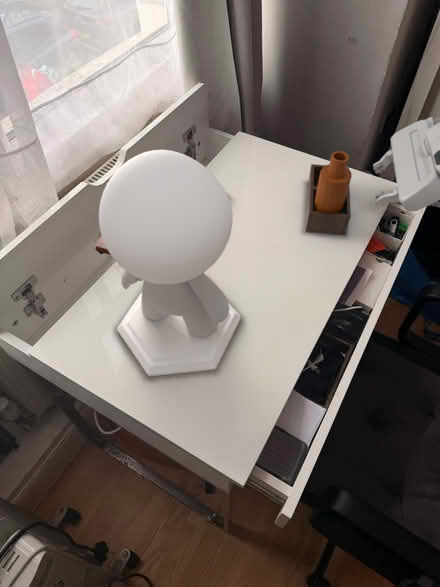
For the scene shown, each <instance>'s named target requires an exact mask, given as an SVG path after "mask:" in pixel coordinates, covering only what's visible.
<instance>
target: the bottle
mask: <svg viewBox="0 0 440 587" xmlns="http://www.w3.org/2000/svg"><path fill="white" fill-rule="evenodd" d="M349 159H350V156H349V154H348V153H347V152H345V151H341V150H338V151H334V152H333V153H331V156H330V161H329V164H325V165H326V166H324V167H323V168H322V169H321V172H320V177H319V182H318V186H317V191H316V196H315V201H314V206H313V211H316V212H327V213H338V214H341V213H342V209H343V205H344V202H345V198H346V195H347V191H348V188H349V186H350V185H351V184H350V183H351V180H352V178H353V177H352V172H351V170H350V168H349V169H348V168H347V167H348V163H349Z"/></svg>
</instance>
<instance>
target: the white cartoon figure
mask: <svg viewBox="0 0 440 587" xmlns="http://www.w3.org/2000/svg"><path fill="white" fill-rule="evenodd" d="M233 216H234V215H233V208H232V204H231V200H230V198H229V194H228V193H227V192H226V188H225V187H224V186H223V185H222V183H221V182H220V180H218V178H217V177H216V176H215V175H214V173H213V172H211V171H210V170H209V169H208V168H207V167H206V166H204V165H203V164H201V163H200V162H199V161H197V160H195V159H194V158H192V157H190V156H188V155H186V154H184V153H181V152H178V151H175V150H168V149H154V150H148V151H144V152H141V153H139V154H136V155H135V156H133V157H132V158H130V159H128V160H127V161H126V162H124V163H123V164H122V165H120V166H119V167H118V168H117V170H115V172H114V173H113V174H112V176H111V177H110V178H109V180H108V181H107V183H106V185H105V188H103V192H102V195H101V198H100V201H99V209H98V224H99V230H100V234H101V235H102V238H103V241H104V243H105V245H106V247H107V249H108V251H109V253H110V254H111V255H110V256H111V257H112V258H113V259H114V261H115V262H116V263H117V264H118V266H120V267H121V268H122V269H123V270H122V273H121V275H120V276H121V278H120V280H121V281H120V282H121V286H122V288H123V289H125V290H128V288H129V287H130V286H131V285H134V284H136V283H138V282H142V281H143V283H142V290H141V292H140V293H139V296H138V297H137V298H136V300H135V301H134V303H133V304H132V305H131V307H130V308H129V310H128V312H127V313H126V314H125V316H124V317H123V319H122V320H121V322H120V323H119V325H118V326H117V328H116V330H117V332H118V333H119V335H120V337H122V339H123V341H124V342H125V344H126V345H127V347H128V349H130V351H131V353H132V354H133V355H134V357H135V358H136V360H137V361H138V363H139V364H140V366H141V368H142V369H143V370H144V371H145V373H146V374H147V377H157V376H158V377H159V376H168V375H179V374H189V373H198V372H206V371H207V372H209V371H216V369H217V367H218V366H219V363H220V361H221V360H222V357H223V355H224V354H225V352H226V350H227V348H228V345H229V343H230V341H231V340H232V337H233V335H234V333H235V331H236V329H237V327H238V325H239V323H240V321H241V319H242V316H241V315H240V314H239V313H238V312H237V311H236V309H235V307H233V306H232V305H231V304H230V302H229V301H228V298H227V296H226V295H225V294H224V292H223V290H221V289H220V287H219V286H218V285H217V284H216V283H215V282H214V281H213V280H212V279H211V278H210V277H209V276H208V275H207V274H206V273H205V272H206V271H208V270H209V269H210V268H212V267H213V266H214V265H215V264H216V262H217V261H218V260H219V259H220V257H221V256H222V254H223V253H224V251H225V250H226V247H227V245H228V243H229V240H230V237H231V233H232V228H233V220H234V219H233ZM101 235H100V236H101Z"/></svg>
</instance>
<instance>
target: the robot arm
mask: <svg viewBox="0 0 440 587" xmlns="http://www.w3.org/2000/svg"><path fill="white" fill-rule="evenodd" d="M390 146H391V149H390V150H387V151H386V153H385V154H384V155H383V156H382V157H381V158H380V159H379V161H377V162H375V163H373V165H372V168H373V172H374V173H375V174H376V175H380V174H381V173H383V172H385V171H386V168H388V166H389V165H390V164H391V163H393V168H394V174H395V181H396V188H395V189H393V190H392V192H390V193H389V192H388V193H385V191H382V192H380V193H379V194H377V195H375V199H376V203H377V205H379V206H380V207H383V206H385V205H387V204H389V203H391V204H392V203H394V204H395V203H400V204H401V206H402V207H403V208H404V209H405V210H406V211H407V212H417V211H420V210H423V209H425V208H427V207H429V206H430V205H432V204H435V203H436V202H438V201H440V117H435V116H434V117H433V116H430V117H427V118H426V119H421V120H418V121H415V122H413V123H410V124H409V125H407V126H405V127H403V128H401V129H400V130H398V131H396V132H395V133H394V134H393V135H392V136H391V137H390Z"/></svg>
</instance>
